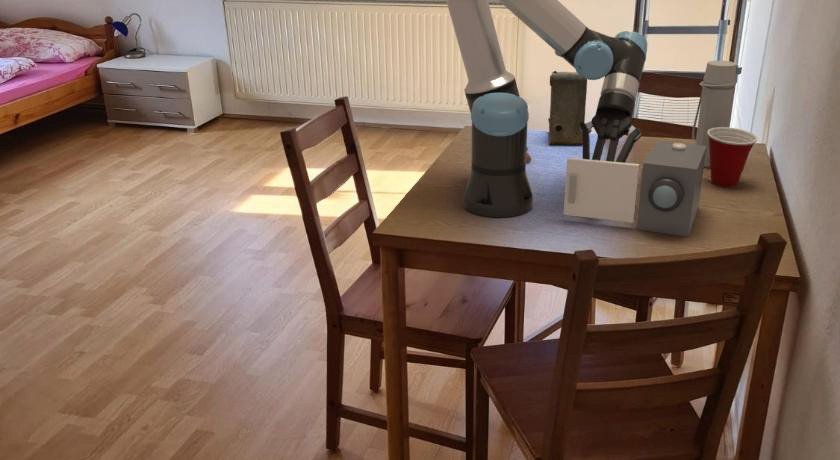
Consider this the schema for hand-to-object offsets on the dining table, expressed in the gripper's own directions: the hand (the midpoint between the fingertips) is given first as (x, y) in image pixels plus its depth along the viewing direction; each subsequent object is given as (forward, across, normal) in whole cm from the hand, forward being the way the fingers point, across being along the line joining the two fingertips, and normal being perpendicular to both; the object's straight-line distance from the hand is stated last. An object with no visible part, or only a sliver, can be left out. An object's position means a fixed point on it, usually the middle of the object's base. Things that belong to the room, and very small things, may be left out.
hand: (593, 198), depth 160 cm
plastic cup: (-20, -23, -28) cm, 41 cm away
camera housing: (-1, -14, -7) cm, 16 cm away
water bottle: (-29, -17, -37) cm, 50 cm away
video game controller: (-20, +27, -28) cm, 44 cm away
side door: (+4, -2, -1) cm, 4 cm away
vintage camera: (-35, +21, -43) cm, 60 cm away
